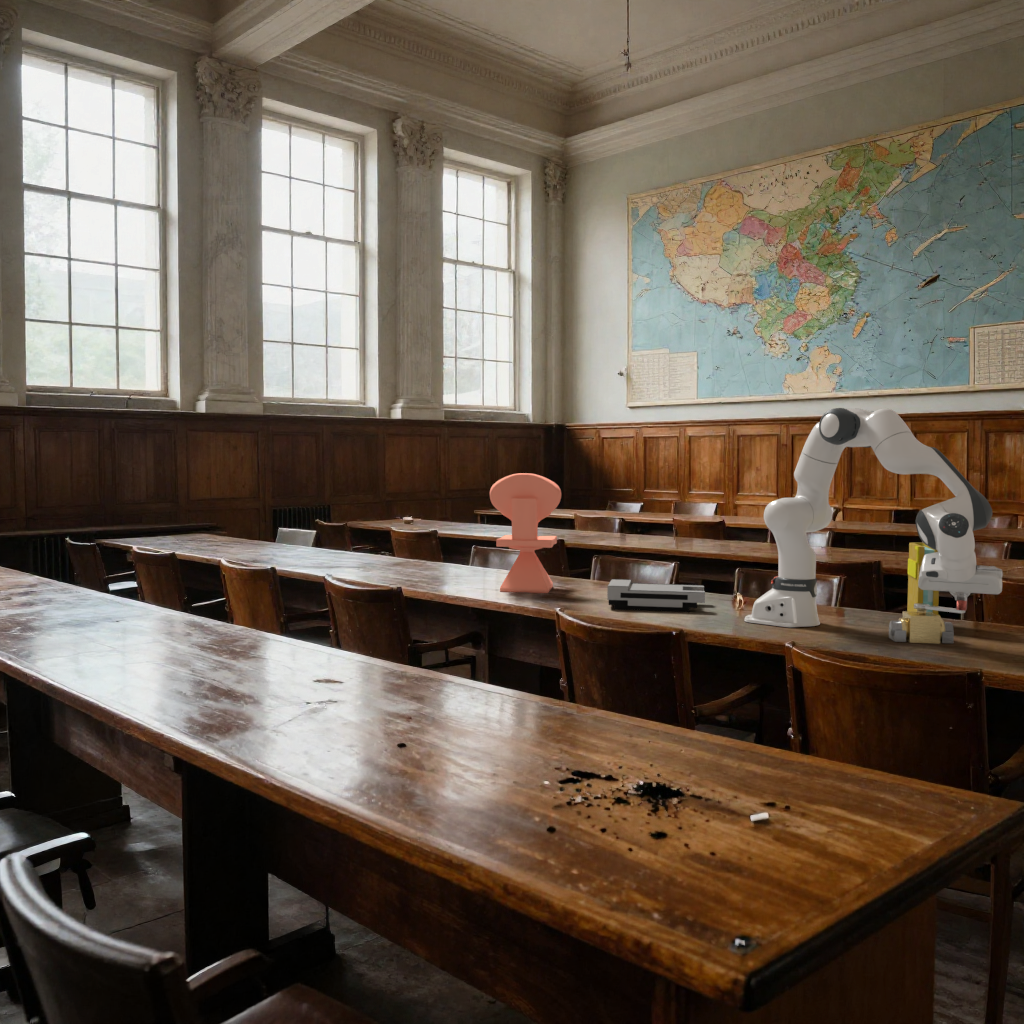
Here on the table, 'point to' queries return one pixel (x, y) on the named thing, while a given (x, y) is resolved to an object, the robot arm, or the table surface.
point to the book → (914, 567)
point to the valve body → (921, 628)
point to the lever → (960, 607)
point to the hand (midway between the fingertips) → (961, 598)
